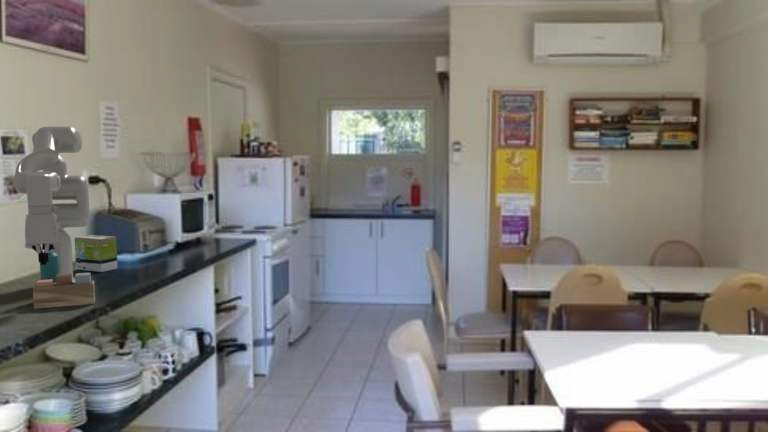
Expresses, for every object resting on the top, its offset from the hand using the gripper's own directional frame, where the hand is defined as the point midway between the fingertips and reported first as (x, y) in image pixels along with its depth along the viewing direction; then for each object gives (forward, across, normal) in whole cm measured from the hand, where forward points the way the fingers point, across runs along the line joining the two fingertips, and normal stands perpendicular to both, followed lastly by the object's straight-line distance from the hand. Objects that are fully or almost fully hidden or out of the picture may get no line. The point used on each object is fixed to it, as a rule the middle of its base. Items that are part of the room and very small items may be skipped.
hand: (44, 264), depth 238 cm
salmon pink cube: (+11, 0, +1) cm, 11 cm away
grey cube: (+9, -12, +1) cm, 15 cm away
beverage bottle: (+15, -1, -9) cm, 17 cm away
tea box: (+17, -13, -71) cm, 74 cm away
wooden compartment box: (+14, -6, +1) cm, 15 cm away
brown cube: (+9, -6, +1) cm, 11 cm away
